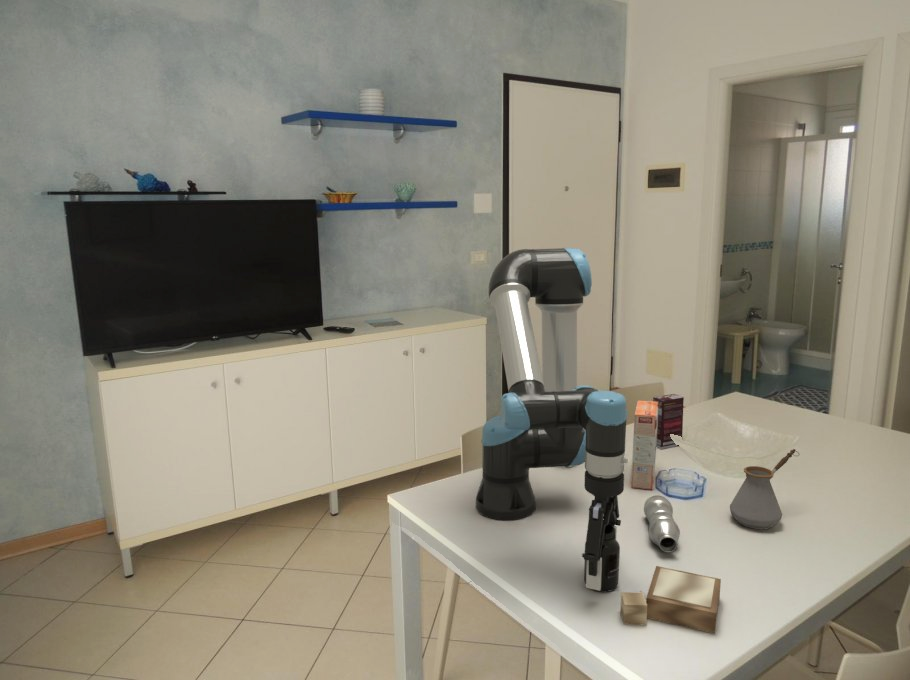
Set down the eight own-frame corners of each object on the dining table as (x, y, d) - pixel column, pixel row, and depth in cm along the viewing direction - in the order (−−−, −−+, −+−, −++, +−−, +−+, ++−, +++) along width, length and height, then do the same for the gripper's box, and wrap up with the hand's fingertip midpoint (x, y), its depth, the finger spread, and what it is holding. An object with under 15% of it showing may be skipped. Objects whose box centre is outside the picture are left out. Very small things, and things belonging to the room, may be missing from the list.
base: (645, 617, 123) (646, 596, 122) (655, 584, 133) (656, 564, 133) (714, 633, 118) (716, 611, 117) (719, 597, 128) (720, 577, 128)
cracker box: (653, 491, 177) (657, 415, 173) (630, 488, 179) (633, 413, 174) (656, 471, 190) (659, 400, 186) (634, 469, 192) (636, 399, 187)
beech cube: (623, 624, 121) (624, 604, 120) (620, 611, 125) (621, 592, 124) (646, 625, 121) (647, 605, 120) (642, 612, 124) (643, 592, 124)
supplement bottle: (619, 594, 130) (621, 538, 128) (583, 591, 131) (585, 535, 129) (617, 575, 137) (619, 521, 134) (584, 572, 138) (585, 519, 136)
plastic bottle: (673, 515, 162) (686, 556, 142) (644, 518, 163) (654, 560, 144) (668, 490, 161) (682, 528, 141) (640, 494, 162) (649, 532, 143)
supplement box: (671, 440, 214) (674, 393, 211) (682, 445, 209) (685, 397, 206) (650, 445, 210) (652, 396, 207) (660, 449, 206) (663, 400, 203)
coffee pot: (763, 538, 151) (768, 476, 148) (718, 519, 160) (722, 460, 157) (813, 513, 162) (819, 455, 160) (769, 497, 172) (774, 442, 169)
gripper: (609, 499, 117) (606, 608, 121) (635, 452, 139) (632, 545, 143) (568, 492, 120) (566, 599, 124) (599, 447, 142) (597, 539, 146)
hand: (601, 570), depth 133 cm, fingers open, 13 cm apart
